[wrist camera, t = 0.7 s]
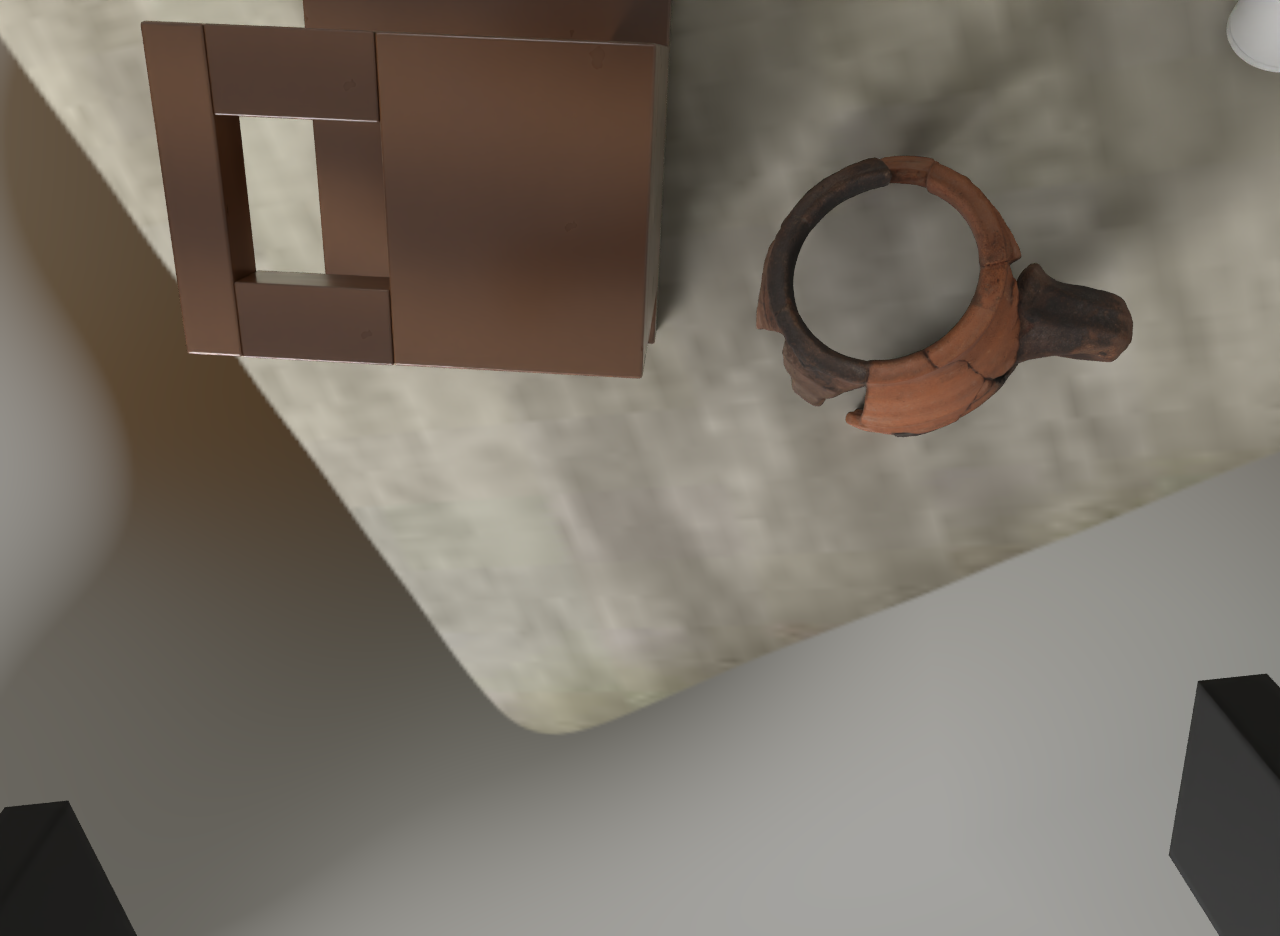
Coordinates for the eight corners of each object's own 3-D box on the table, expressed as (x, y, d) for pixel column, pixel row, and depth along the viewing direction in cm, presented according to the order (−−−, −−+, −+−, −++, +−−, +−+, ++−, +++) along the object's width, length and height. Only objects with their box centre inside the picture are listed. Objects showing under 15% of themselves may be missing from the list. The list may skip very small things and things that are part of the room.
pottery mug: (778, 442, 39) (732, 416, 32) (792, 208, 40) (750, 126, 32) (1110, 454, 36) (1152, 428, 28) (1120, 196, 36) (1164, 99, 28)
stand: (315, -35, 33) (124, -78, 22) (672, -20, 33) (660, -57, 22) (342, 316, 38) (196, 425, 27) (655, 333, 37) (639, 451, 26)
